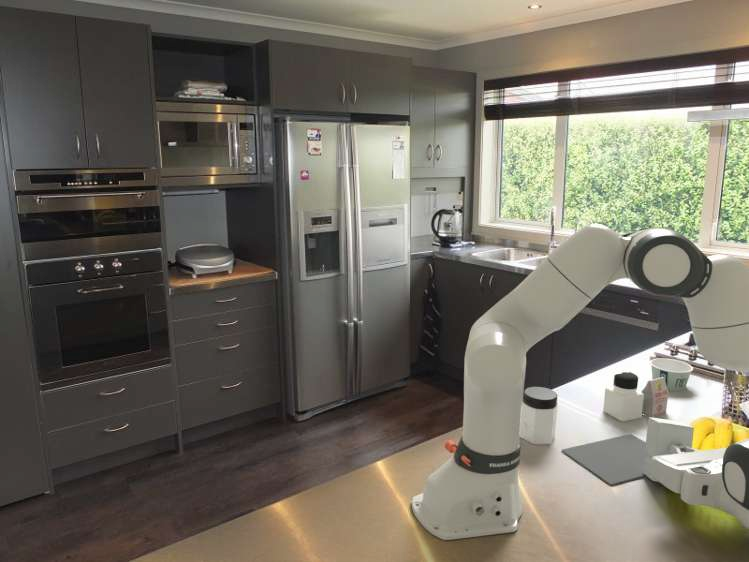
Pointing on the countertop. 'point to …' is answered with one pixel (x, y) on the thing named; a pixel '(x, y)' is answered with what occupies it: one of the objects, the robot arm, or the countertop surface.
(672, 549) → the countertop surface
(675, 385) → the food container
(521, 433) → the jar
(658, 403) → the juice carton
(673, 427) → the supplement box
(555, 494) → the countertop surface
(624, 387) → the medicine bottle
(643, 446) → the mat
